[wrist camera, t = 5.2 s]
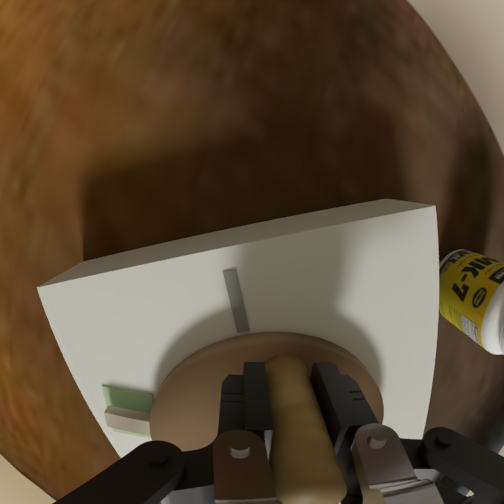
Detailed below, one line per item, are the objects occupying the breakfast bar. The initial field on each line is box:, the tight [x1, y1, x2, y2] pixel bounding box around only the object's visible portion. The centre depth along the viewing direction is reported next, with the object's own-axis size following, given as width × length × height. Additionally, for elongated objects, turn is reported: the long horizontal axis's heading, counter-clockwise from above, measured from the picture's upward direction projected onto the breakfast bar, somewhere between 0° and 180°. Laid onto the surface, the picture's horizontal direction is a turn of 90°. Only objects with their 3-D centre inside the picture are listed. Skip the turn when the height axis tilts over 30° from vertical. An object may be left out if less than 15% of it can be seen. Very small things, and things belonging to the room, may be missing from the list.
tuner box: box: [37, 199, 439, 458], centre depth 16 cm, size 18×18×5 cm
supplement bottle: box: [439, 249, 504, 355], centre depth 14 cm, size 5×5×8 cm
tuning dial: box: [104, 332, 384, 504], centre depth 10 cm, size 13×11×7 cm
